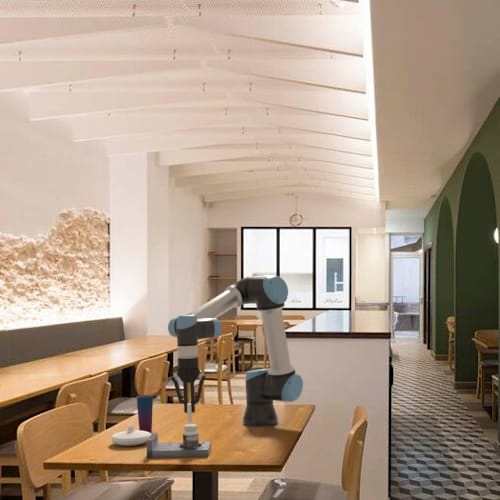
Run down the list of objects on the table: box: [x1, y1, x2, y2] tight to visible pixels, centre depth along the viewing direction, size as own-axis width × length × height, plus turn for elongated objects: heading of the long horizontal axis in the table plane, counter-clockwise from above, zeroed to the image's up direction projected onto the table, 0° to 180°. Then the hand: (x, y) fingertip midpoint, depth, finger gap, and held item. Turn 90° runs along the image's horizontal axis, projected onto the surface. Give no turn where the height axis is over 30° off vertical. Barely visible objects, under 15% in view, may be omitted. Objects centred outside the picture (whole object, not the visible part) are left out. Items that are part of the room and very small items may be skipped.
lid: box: [110, 424, 152, 447], centre depth 281 cm, size 16×16×7 cm
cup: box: [136, 394, 154, 434], centre depth 302 cm, size 7×7×15 cm
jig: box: [145, 432, 212, 459], centre depth 264 cm, size 22×13×6 cm, turn 89°
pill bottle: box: [182, 423, 200, 449], centre depth 264 cm, size 6×6×10 cm
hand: (190, 421), depth 264 cm, fingers closed
